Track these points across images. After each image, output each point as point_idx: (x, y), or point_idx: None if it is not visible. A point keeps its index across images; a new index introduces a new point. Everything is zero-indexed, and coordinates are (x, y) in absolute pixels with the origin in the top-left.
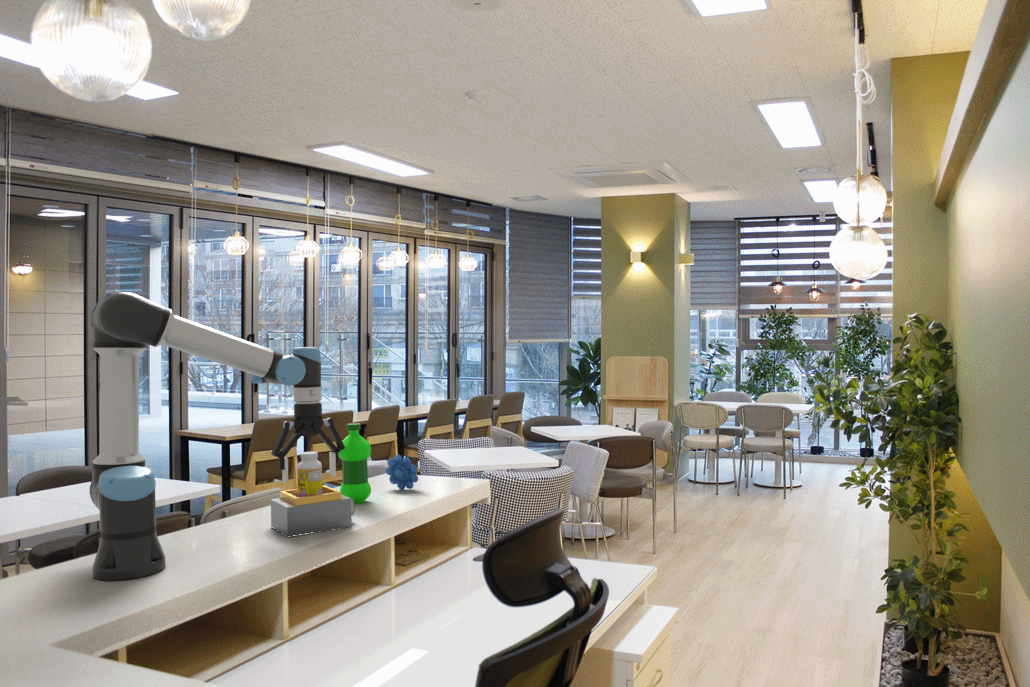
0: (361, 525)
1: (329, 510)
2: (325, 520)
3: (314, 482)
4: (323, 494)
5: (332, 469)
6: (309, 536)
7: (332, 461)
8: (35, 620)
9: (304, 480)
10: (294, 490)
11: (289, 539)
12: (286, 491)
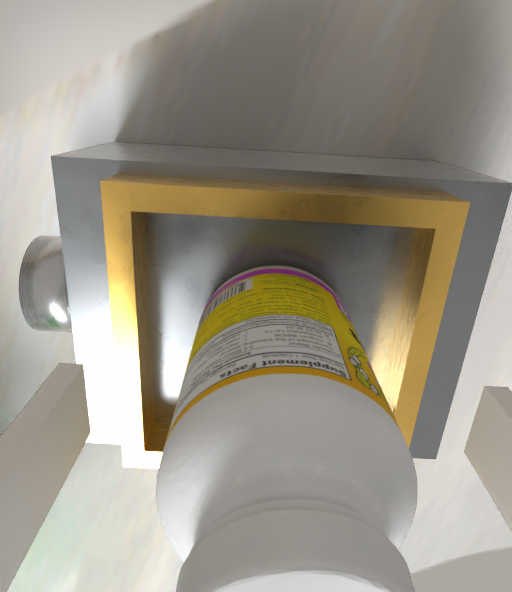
0: (61, 137)
1: (220, 158)
2: (248, 155)
3: (283, 309)
4: (248, 190)
5: (59, 416)
6: (352, 109)
7: (17, 473)
8: None
9: (361, 351)
10: None
11: (448, 123)
12: None
